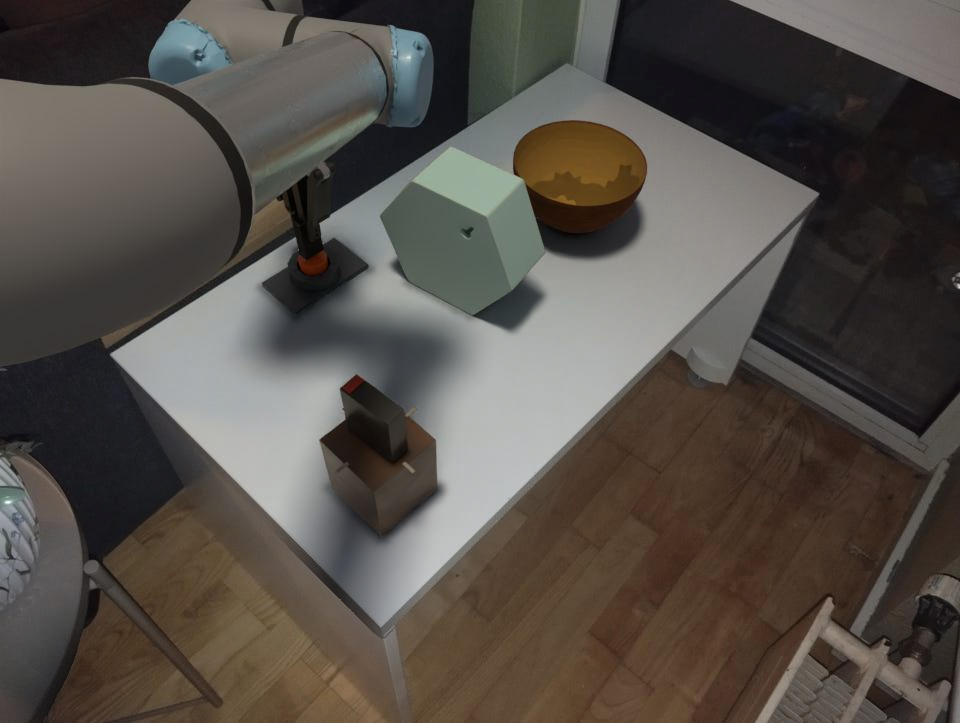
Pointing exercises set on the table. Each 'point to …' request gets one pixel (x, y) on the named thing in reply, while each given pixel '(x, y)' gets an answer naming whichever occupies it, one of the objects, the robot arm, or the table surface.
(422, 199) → the sage hexagonal prism
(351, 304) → the table surface
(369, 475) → the pegged wooden cube
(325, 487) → the table surface
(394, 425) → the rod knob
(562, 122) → the bowl
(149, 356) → the table surface
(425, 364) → the table surface
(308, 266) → the button
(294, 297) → the button box
